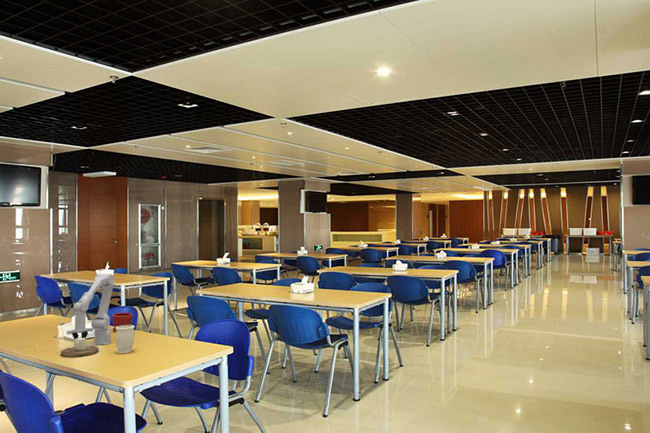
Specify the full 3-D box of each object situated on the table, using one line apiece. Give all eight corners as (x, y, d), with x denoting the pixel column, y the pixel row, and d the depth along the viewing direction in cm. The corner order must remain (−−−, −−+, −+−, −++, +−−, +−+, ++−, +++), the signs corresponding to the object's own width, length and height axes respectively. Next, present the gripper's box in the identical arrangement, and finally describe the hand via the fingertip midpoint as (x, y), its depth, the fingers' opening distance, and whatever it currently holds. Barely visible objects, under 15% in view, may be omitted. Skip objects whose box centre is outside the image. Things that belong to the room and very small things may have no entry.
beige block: (77, 348, 289) (77, 337, 289) (86, 348, 289) (86, 337, 289) (71, 352, 281) (71, 340, 281) (80, 352, 281) (80, 340, 281)
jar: (138, 350, 292) (138, 325, 292) (125, 354, 282) (126, 328, 282) (123, 349, 295) (124, 324, 296) (111, 353, 286) (111, 327, 286)
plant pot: (114, 333, 339) (114, 316, 339) (111, 330, 350) (111, 313, 350) (134, 331, 346) (134, 314, 346) (130, 328, 357) (130, 311, 357)
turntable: (71, 348, 296) (71, 340, 296) (104, 348, 296) (104, 340, 297) (53, 357, 276) (53, 349, 276) (89, 356, 276) (89, 348, 277)
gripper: (90, 319, 302) (90, 341, 301) (65, 322, 292) (64, 345, 291) (94, 321, 296) (94, 343, 296) (68, 324, 286) (68, 347, 286)
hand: (79, 344), depth 293 cm, fingers open, 3 cm apart
